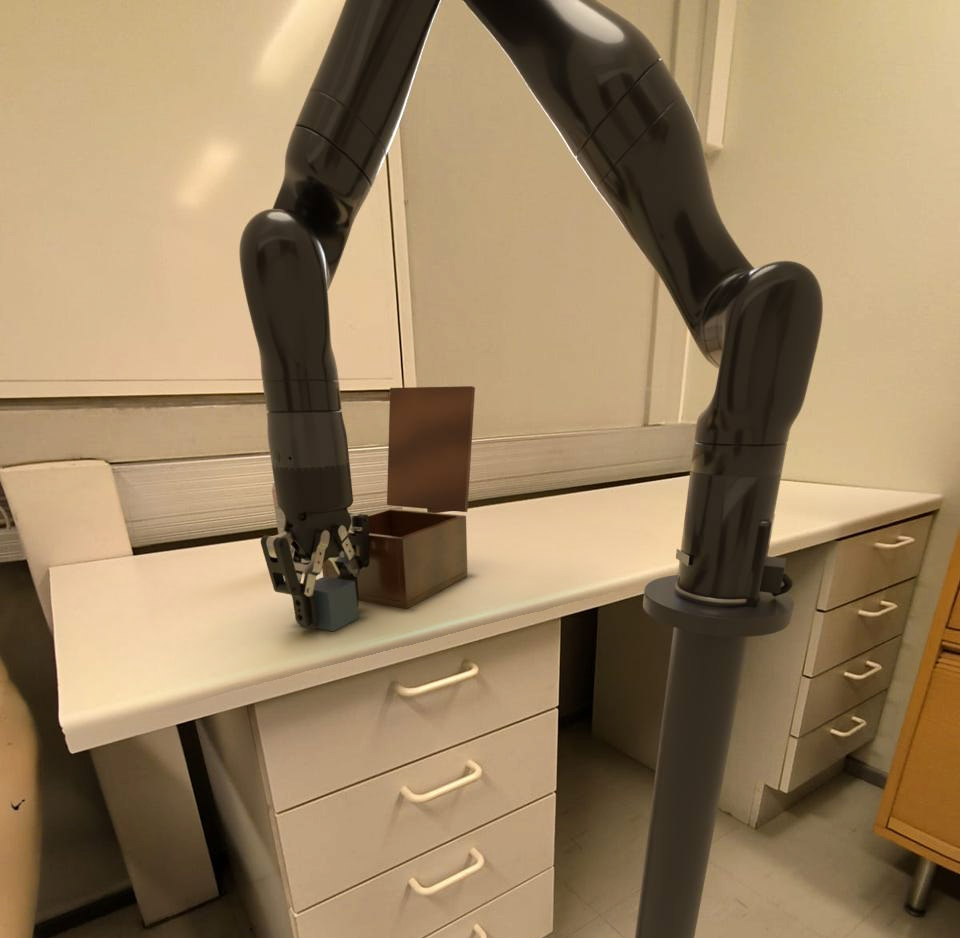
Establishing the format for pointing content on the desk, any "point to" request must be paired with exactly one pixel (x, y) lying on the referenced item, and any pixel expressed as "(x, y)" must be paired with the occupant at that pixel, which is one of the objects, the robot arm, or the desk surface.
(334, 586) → the block
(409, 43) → the robot arm
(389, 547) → the chest
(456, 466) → the lid
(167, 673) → the desk surface
